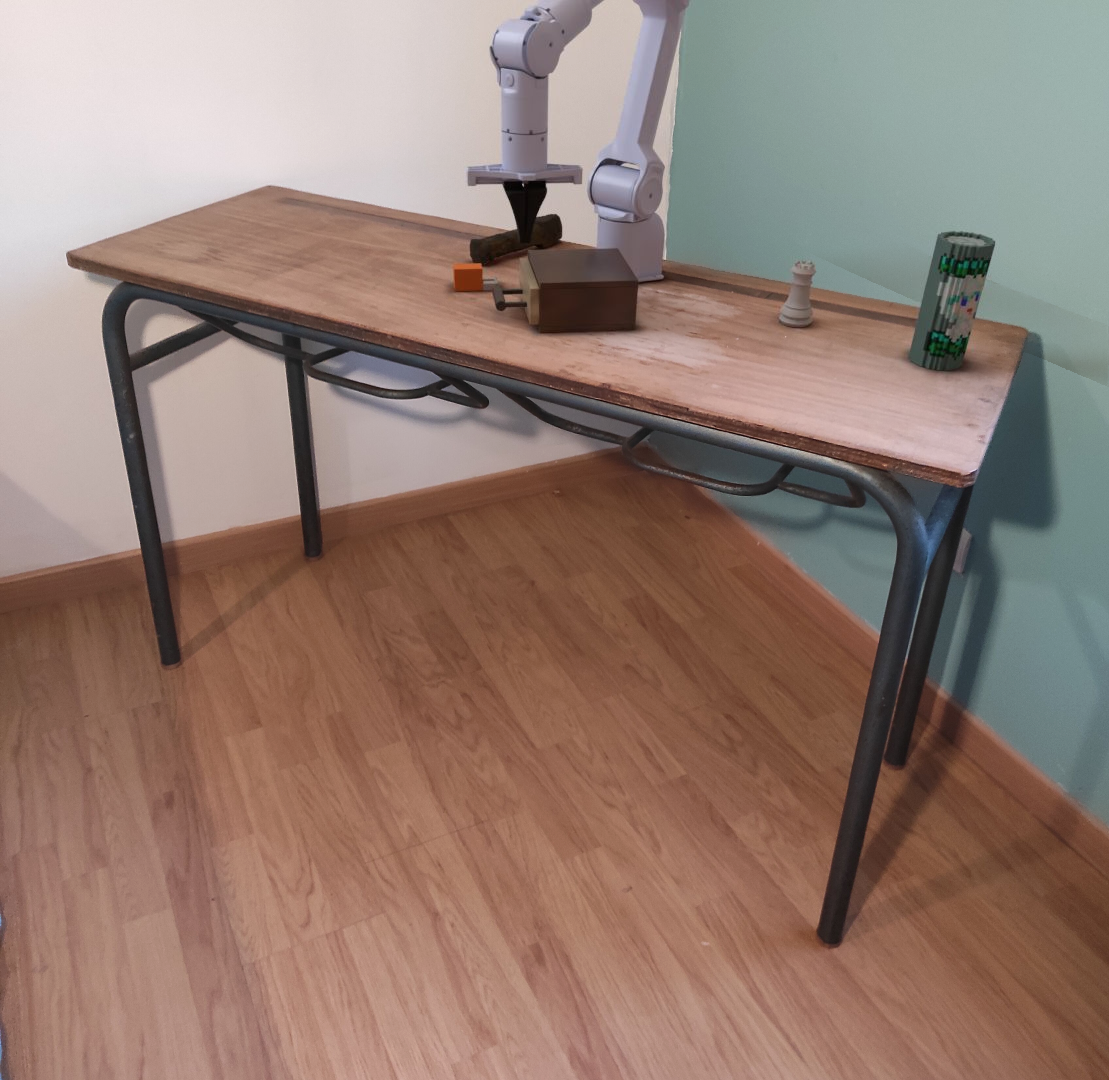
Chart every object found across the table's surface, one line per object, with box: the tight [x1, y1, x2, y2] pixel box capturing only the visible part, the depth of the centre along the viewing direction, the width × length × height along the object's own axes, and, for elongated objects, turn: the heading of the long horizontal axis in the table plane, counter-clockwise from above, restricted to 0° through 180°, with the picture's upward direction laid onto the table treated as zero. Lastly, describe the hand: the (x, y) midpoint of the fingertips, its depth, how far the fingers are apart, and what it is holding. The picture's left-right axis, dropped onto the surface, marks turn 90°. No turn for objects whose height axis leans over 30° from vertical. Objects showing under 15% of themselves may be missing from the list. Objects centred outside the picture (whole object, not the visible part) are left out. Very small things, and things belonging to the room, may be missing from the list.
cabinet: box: [527, 248, 640, 334], centre depth 129 cm, size 13×14×7 cm
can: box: [907, 230, 996, 372], centre depth 115 cm, size 6×6×15 cm
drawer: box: [491, 257, 540, 326], centre depth 128 cm, size 16×12×5 cm
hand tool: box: [469, 213, 563, 266], centre depth 151 cm, size 19×4×5 cm, turn 134°
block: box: [452, 262, 499, 292], centre depth 137 cm, size 6×2×3 cm, turn 98°
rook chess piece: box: [778, 259, 817, 328], centre depth 127 cm, size 4×4×8 cm
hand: (524, 240), depth 126 cm, fingers closed
